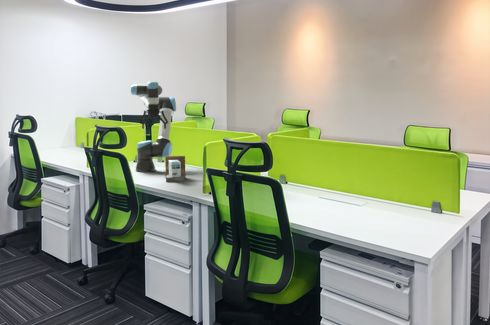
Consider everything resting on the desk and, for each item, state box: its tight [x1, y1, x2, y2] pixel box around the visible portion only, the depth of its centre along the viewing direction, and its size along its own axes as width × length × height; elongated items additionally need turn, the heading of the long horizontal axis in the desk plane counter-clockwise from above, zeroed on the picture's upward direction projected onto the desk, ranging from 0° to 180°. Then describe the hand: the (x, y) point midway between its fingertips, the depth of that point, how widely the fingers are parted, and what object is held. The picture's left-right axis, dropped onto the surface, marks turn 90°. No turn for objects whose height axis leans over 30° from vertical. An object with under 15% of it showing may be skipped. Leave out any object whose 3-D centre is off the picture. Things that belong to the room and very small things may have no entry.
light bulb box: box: [168, 160, 181, 177], centre depth 308 cm, size 11×7×11 cm, turn 22°
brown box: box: [164, 155, 186, 183], centre depth 309 cm, size 14×14×16 cm
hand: (154, 133), depth 317 cm, fingers open, 13 cm apart
